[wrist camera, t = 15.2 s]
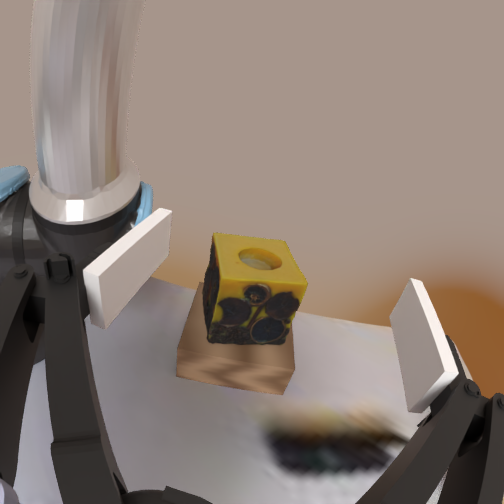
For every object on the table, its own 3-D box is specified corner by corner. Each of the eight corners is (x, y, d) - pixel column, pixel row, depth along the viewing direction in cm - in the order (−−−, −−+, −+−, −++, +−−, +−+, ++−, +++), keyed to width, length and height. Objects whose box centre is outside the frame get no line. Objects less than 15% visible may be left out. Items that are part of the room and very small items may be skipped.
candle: (201, 292, 44) (210, 230, 39) (268, 296, 46) (285, 238, 41) (205, 345, 35) (216, 277, 30) (285, 346, 38) (310, 283, 33)
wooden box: (176, 377, 37) (177, 348, 34) (196, 311, 49) (199, 281, 46) (281, 396, 37) (294, 369, 34) (280, 327, 50) (290, 299, 47)
